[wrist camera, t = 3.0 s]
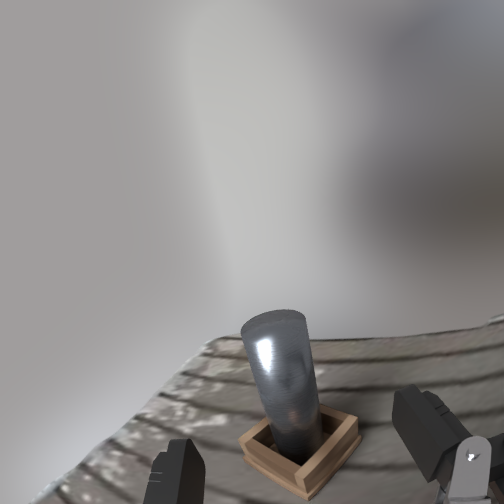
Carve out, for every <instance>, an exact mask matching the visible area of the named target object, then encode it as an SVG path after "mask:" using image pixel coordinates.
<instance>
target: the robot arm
mask: <svg viewBox="0 0 504 504" xmlns="http://www.w3.org/2000/svg"><path fill="white" fill-rule="evenodd" d="M392 421H393V425H394V427H395V429H396V431H397V432H398V434H399V436H400V437H401V439H402V440H403V442H404V444H405V445H406V447H407V449H408V450H409V452H410V454H411V455H412V457H413V459H414V460H415V462H416V464H417V465H418V467H419V469H420V470H421V472H422V474H423V476H424V477H425V479H426V481H427V482H428V483H429V482H431V481H432V480H434V479H437V480H438V482H439V485H438V488H437V492H436V496H435V499H434V502H433V504H491V498H490V497H487V489H488V484H489V486H490V488H491V489H492V491H493V493H494V494H495V496H496V498H497V500H498V501H499V503H500V504H504V433H502V434H500V435H497V436H495V437H492V438H489V439H485V438H484V437H480V436H472V435H471V434H470V433H469V432H468V431H467V430H466V428H465V427H464V426H463V425H462V424H461V422H460V421H459V420H458V419H457V418H456V416H455V415H454V414H453V413H452V412H450V409H449V408H448V407H447V406H446V405H444V403H443V401H442V400H441V399H440V398H439V397H438V396H437V395H435V394H433V393H431V392H429V391H425V392H423V393H421V392H420V390H419V389H418V388H417V387H416V386H415V385H414V384H411V385H409V386H406V387H404V388H402V389H399V390H397V391H395V394H394V403H393V411H392ZM205 472H206V471H205V464H204V461H203V459H202V457H201V455H200V454H199V452H198V450H197V449H196V447H195V445H194V444H193V442H192V440H191V439H172V440H170V442H169V445H168V449H167V452H160V453H159V455H158V456H157V457H156V459H155V460H154V461H153V465H152V469H151V474H150V477H149V482H148V485H147V489H146V493H145V498H144V502H143V504H203V499H204V485H205Z"/></svg>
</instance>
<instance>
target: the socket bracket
mask: <svg viewBox="0 0 504 504" xmlns="http://www.w3.org/2000/svg"><path fill="white" fill-rule="evenodd" d="M319 405H320V412H321V419H322V427H323V434H324V442H325V443H324V444H323V446H322V447H321V448H320V449H319V450H318V451H317V452H316V453H315V454H314V455H313V456H312V457H311V458H310V459H309V460H308V461H307V462H306V463H305V464H304V465H303V466H302V467H301V466H299V465H297V464H295V463H294V462H292V461H290V460H288V459H286V458H284V457H283V456H281V455H279V452H278V449H277V447H276V444H275V441H274V438H273V435H272V432H271V429H270V426H269V423H268V420H267V417H265V418H264V419H263V420H261V421H260V422H259V423H258V424H256V425H255V426H254V427H253V428H251V429H250V430H249V431H248V432H246V433H245V434H244V435H242V436H241V437H240V438H239V439H238V441H239V443H240V445H241V447H242V449H243V451H244V453H245V456H243V459H244V461H245V462H246V463H247V464H249V465H250V466H251V467H253V468H254V469H256V470H257V471H259V472H260V473H262V474H263V475H265V476H266V477H268V478H270V479H271V480H273V481H274V482H276V483H277V484H279V485H281V486H282V487H284V488H286V489H287V490H289V491H291V492H292V493H294V494H296V495H298V496H300V497H301V498H303V499H305V500H307V501H309V500H310V499H311V498H312V497H313V496H314V495H315V494H316V493H317V492H318V491H319V490H320V489H321V488H322V487H323V486H324V485H325V484H326V483H327V482H328V481H329V479H330V478H331V477H332V476H333V475H334V474H335V473H336V472H337V470H338V469H339V468H340V467H341V466H342V465H343V463H344V462H345V461H346V460H347V459H348V457H349V456H350V455H351V454H352V452H353V451H354V450H355V449H356V447H357V446H358V445H359V443H360V442H361V441H362V436H361V435H358V417H356V416H353V415H350V414H347V413H344V412H341V411H338V410H335V409H333V408H330V407H327V406H325V405H322V404H319Z"/></svg>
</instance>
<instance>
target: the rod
mask: <svg viewBox="0 0 504 504" xmlns="http://www.w3.org/2000/svg"><path fill="white" fill-rule="evenodd" d="M241 336H242V340H243V343H244V346H245V350H246V353H247V356H248V360H249V363H250V366H251V369H252V373H253V376H254V379H255V382H256V385H257V389H258V392H259V395H260V398H261V401H262V404H263V407H264V410H265V414H266V417H267V420H268V423H269V426H270V429H271V432H272V435H273V438H274V441H275V444H276V447H277V449H278V452H279V455H281V456H283V457H284V458H286V459H288V460H290V461H292V462H294V463H295V464H297V465H299V466H301V467H302V466H303V465H304V464H305V463H306V462H307V461H308V460H309V459H310V458H311V457H312V456H313V455H314V454H315V453H316V452H317V451H318V450H319V449H320V448H321V447H322V446H323V444H324V443H325V442H324V434H323V427H322V419H321V412H320V405H319V398H318V391H317V384H316V378H315V372H314V365H313V359H312V353H311V347H310V341H309V335H308V329H307V324H306V318H305V316H304V315H303V314H302V313H300V312H298V311H295V310H274V311H269V312H266V313H263V314H260V315H258V316H255V317H253V318H252V319H250V320H249V321H247V322H246V323H245V324H244V325H243V327H242V329H241Z"/></svg>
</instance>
